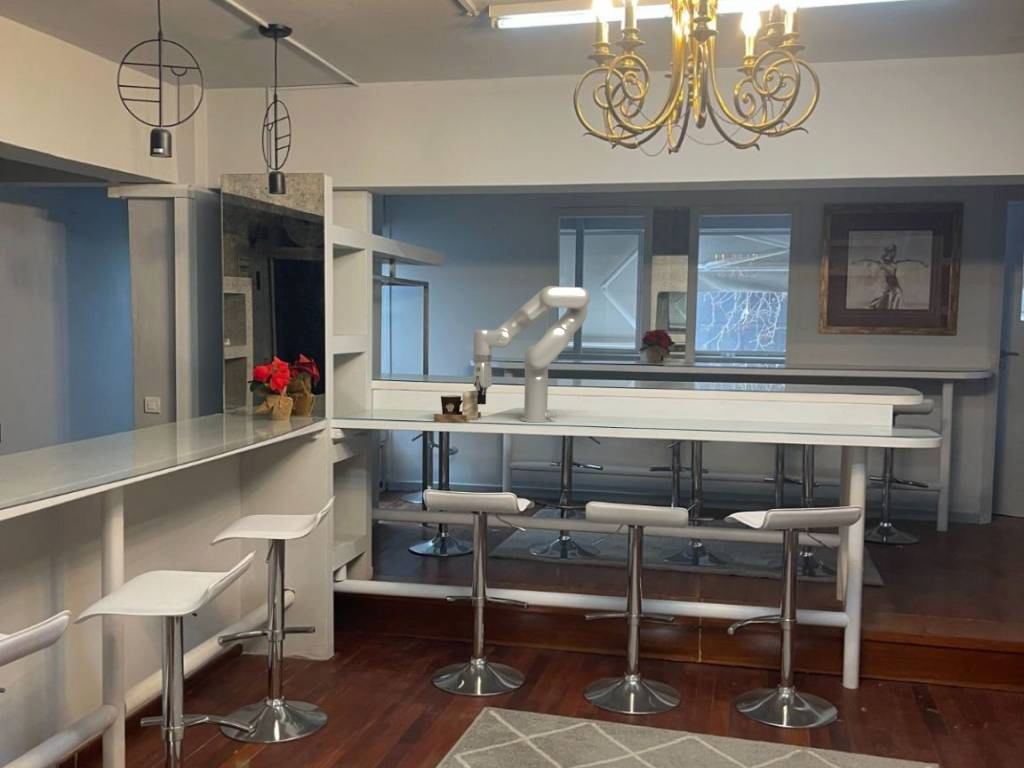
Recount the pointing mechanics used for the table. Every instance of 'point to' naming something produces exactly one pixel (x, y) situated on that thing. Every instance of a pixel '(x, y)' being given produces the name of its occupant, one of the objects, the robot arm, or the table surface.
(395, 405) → the table surface
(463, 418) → the mug holder
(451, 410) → the coffee mug
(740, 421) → the table surface
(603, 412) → the table surface
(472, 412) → the ejector plate
